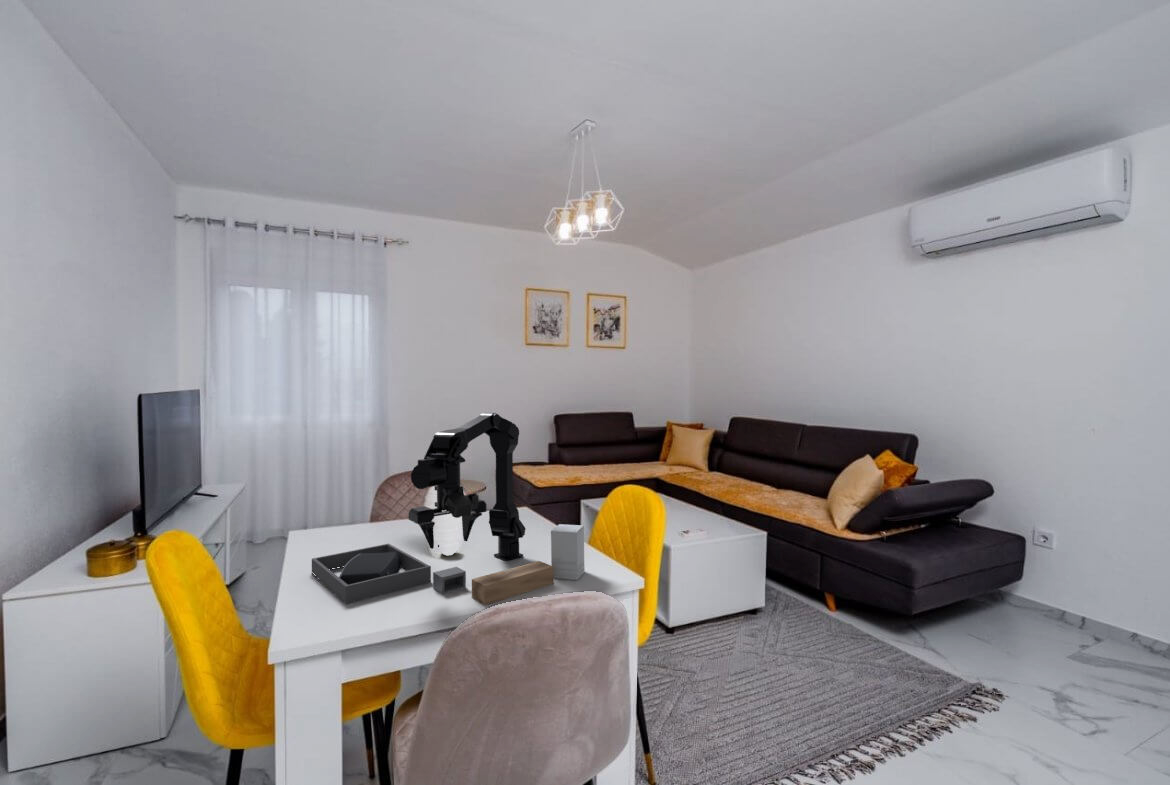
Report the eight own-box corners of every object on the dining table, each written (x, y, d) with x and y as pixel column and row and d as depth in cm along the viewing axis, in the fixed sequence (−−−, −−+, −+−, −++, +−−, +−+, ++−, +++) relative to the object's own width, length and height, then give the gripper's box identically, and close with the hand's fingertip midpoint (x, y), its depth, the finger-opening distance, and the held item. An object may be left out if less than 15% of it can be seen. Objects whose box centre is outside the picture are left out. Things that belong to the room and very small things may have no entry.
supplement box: (585, 571, 144) (585, 525, 144) (577, 580, 137) (577, 532, 137) (559, 569, 146) (559, 523, 146) (550, 578, 139) (550, 530, 139)
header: (461, 591, 130) (461, 573, 130) (528, 572, 143) (528, 556, 143) (485, 605, 122) (484, 585, 122) (553, 583, 135) (553, 566, 135)
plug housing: (433, 589, 132) (433, 572, 132) (456, 583, 136) (456, 566, 136) (442, 594, 128) (442, 577, 128) (465, 588, 133) (465, 571, 133)
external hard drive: (331, 591, 130) (331, 575, 130) (354, 566, 149) (354, 551, 149) (386, 588, 131) (386, 572, 131) (402, 563, 151) (402, 549, 151)
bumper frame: (311, 573, 144) (311, 558, 144) (388, 556, 158) (388, 543, 158) (345, 603, 123) (345, 586, 123) (430, 581, 137) (430, 566, 137)
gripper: (427, 491, 120) (428, 560, 120) (498, 481, 133) (498, 544, 133) (407, 485, 129) (407, 549, 129) (475, 476, 141) (475, 535, 141)
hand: (449, 544), depth 133 cm, fingers open, 9 cm apart
